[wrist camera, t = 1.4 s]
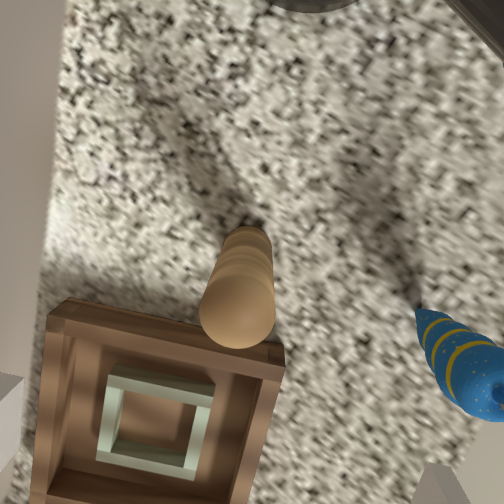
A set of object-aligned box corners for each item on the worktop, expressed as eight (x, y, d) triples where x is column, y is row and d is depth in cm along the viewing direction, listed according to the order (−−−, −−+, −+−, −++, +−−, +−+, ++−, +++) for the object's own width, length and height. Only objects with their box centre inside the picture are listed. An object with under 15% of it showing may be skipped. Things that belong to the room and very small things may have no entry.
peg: (228, 220, 36) (207, 269, 22) (276, 232, 36) (284, 287, 23) (218, 266, 37) (192, 339, 24) (265, 277, 37) (265, 355, 24)
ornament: (388, 291, 37) (467, 387, 23) (445, 279, 37) (562, 370, 22) (396, 340, 39) (475, 461, 24) (451, 329, 38) (565, 446, 24)
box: (69, 297, 38) (47, 314, 35) (283, 345, 39) (285, 367, 35) (49, 471, 44) (28, 503, 40) (237, 511, 45) (234, 546, 41)
